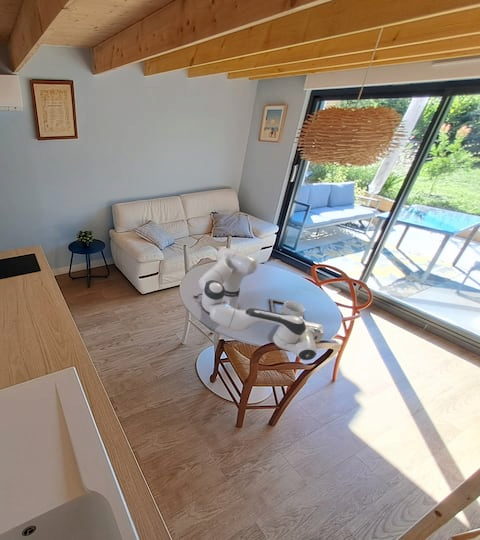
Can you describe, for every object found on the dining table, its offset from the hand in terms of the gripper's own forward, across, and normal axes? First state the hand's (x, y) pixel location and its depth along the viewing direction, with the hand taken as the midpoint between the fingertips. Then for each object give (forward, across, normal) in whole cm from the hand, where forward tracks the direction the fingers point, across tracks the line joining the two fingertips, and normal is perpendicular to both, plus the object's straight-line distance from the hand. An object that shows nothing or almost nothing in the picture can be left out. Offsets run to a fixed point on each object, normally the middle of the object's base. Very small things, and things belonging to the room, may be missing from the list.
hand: (298, 317), depth 155 cm
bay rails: (+26, 0, -14) cm, 30 cm away
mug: (+11, 0, -15) cm, 18 cm away
